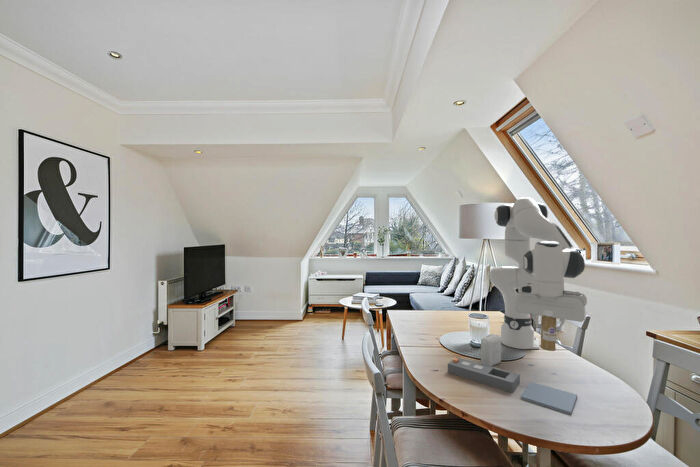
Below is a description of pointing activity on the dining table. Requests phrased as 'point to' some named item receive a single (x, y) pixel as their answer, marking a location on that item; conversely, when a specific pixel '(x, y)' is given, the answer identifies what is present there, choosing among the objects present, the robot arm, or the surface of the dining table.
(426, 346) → the dining table surface
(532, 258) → the robot arm
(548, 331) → the sprinkles bottle
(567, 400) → the rubber mat
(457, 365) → the power strip
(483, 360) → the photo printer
